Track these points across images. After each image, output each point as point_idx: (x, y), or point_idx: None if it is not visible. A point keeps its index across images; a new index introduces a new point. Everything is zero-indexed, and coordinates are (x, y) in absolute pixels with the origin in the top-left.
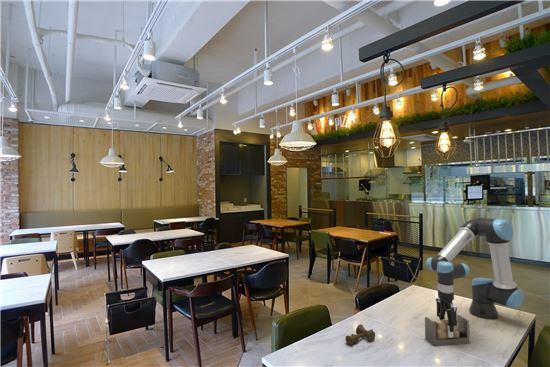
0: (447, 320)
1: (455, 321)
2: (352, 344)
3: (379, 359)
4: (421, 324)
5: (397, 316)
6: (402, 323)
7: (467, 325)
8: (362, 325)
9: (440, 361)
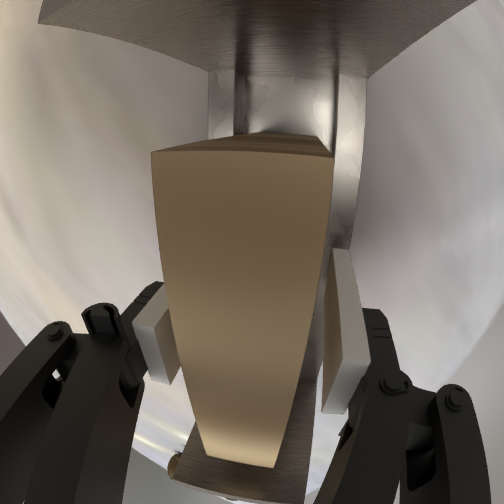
0: (210, 365)
1: (467, 470)
2: None
3: (317, 479)
4: (59, 236)
5: (25, 289)
6: (71, 320)
7: (426, 20)
8: (172, 475)
9: None
